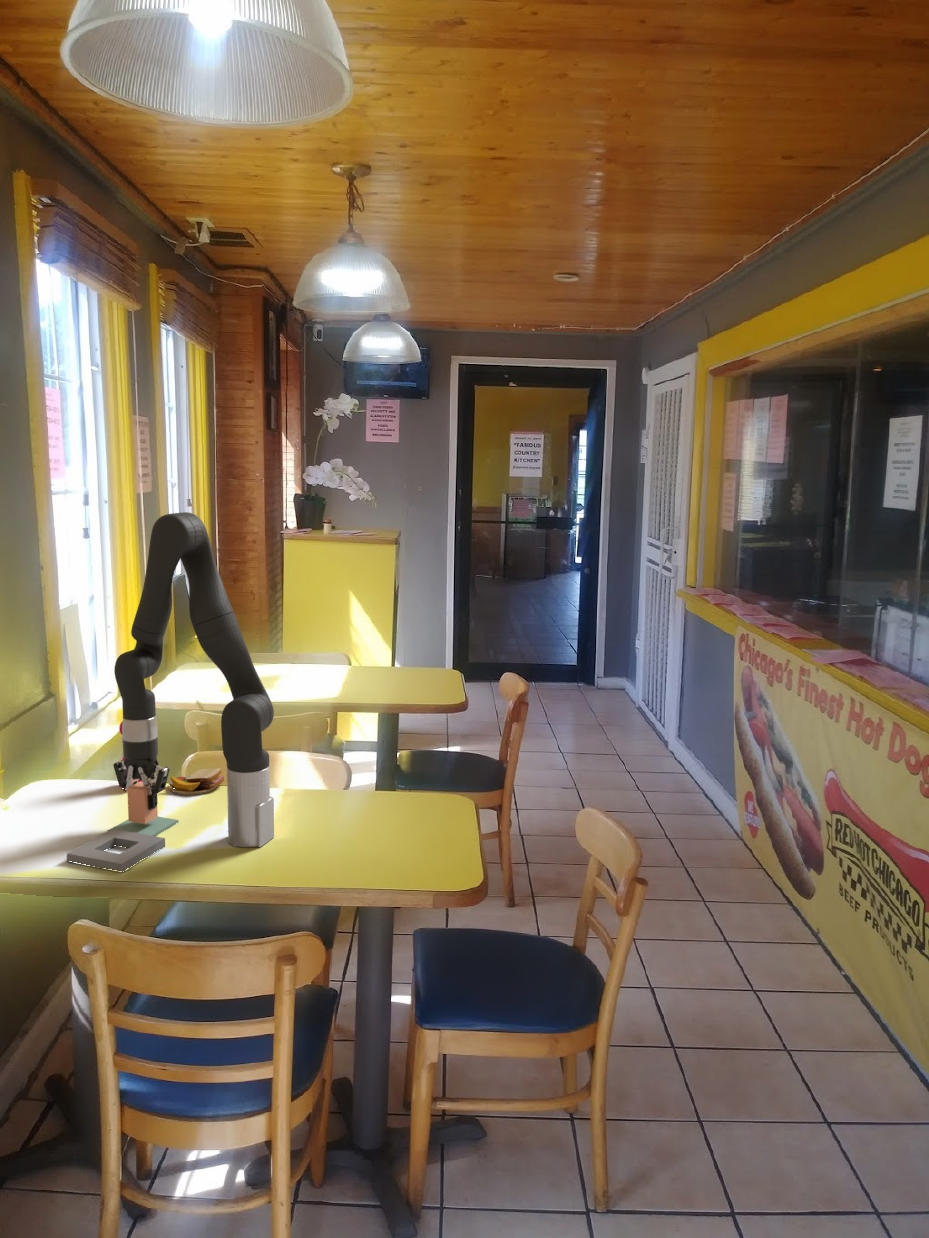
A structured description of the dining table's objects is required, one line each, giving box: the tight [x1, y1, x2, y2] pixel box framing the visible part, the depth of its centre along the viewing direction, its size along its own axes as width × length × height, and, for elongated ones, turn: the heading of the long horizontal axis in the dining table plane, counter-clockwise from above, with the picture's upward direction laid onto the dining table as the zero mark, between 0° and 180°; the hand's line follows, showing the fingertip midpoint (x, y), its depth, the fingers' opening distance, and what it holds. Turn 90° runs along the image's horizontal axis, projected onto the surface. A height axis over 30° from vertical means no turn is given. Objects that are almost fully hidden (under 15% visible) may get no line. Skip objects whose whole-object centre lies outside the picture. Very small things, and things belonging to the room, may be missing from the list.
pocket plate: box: [66, 828, 166, 872], centre depth 196 cm, size 14×14×2 cm
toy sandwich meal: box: [168, 767, 225, 796], centre depth 236 cm, size 12×14×5 cm
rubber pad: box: [107, 816, 179, 837], centre depth 210 cm, size 11×11×1 cm
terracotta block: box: [126, 781, 159, 824], centre depth 209 cm, size 4×4×8 cm
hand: (142, 807), depth 210 cm, fingers closed on terracotta block, 4 cm apart
